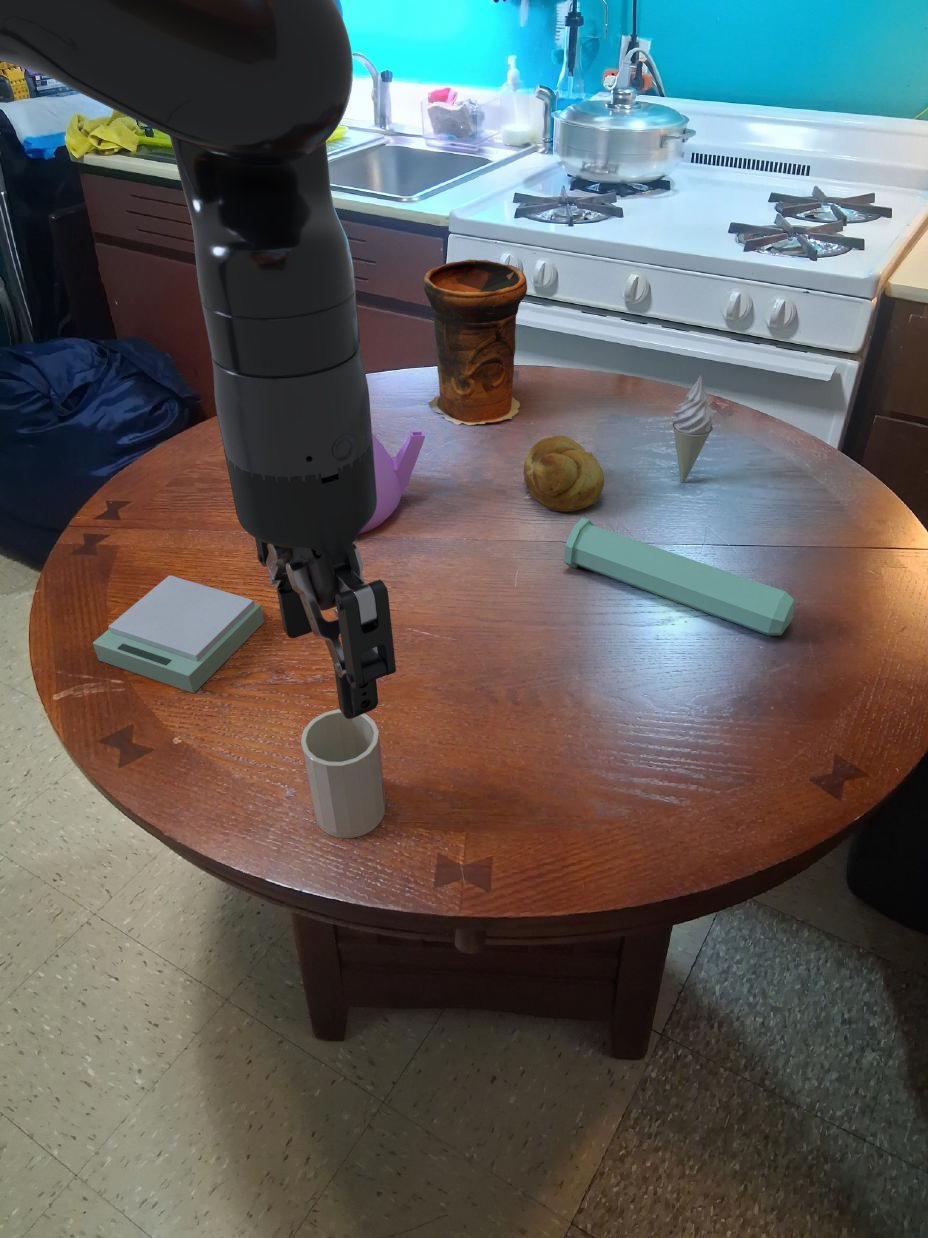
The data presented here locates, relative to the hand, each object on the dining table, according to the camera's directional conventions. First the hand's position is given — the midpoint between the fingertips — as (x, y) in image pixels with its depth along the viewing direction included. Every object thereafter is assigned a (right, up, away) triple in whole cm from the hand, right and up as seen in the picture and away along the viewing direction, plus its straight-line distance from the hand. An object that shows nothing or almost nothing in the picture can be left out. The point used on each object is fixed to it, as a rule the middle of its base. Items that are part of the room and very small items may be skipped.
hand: (329, 669), depth 55 cm
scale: (-21, +1, +37) cm, 42 cm away
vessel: (+10, +35, +78) cm, 86 cm away
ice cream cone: (+37, +21, +61) cm, 75 cm away
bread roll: (+21, +19, +59) cm, 66 cm away
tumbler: (-1, -13, +19) cm, 23 cm away
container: (+32, +5, +42) cm, 53 cm away
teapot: (-7, +17, +56) cm, 59 cm away
